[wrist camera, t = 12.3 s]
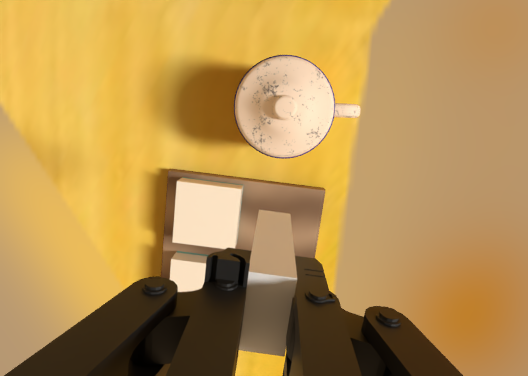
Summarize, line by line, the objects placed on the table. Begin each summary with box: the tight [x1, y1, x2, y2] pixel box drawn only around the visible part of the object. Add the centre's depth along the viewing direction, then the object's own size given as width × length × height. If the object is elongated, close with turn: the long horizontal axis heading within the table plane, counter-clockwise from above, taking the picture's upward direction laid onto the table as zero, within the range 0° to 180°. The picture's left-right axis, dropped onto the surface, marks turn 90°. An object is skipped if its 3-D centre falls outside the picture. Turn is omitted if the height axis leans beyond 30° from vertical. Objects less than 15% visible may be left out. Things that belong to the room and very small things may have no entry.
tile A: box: [172, 177, 244, 249], centre depth 41 cm, size 7×2×7 cm
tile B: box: [170, 251, 208, 292], centre depth 42 cm, size 7×2×7 cm
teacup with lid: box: [234, 55, 360, 158], centre depth 35 cm, size 12×9×12 cm
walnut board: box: [161, 169, 325, 279], centre depth 43 cm, size 17×18×2 cm
